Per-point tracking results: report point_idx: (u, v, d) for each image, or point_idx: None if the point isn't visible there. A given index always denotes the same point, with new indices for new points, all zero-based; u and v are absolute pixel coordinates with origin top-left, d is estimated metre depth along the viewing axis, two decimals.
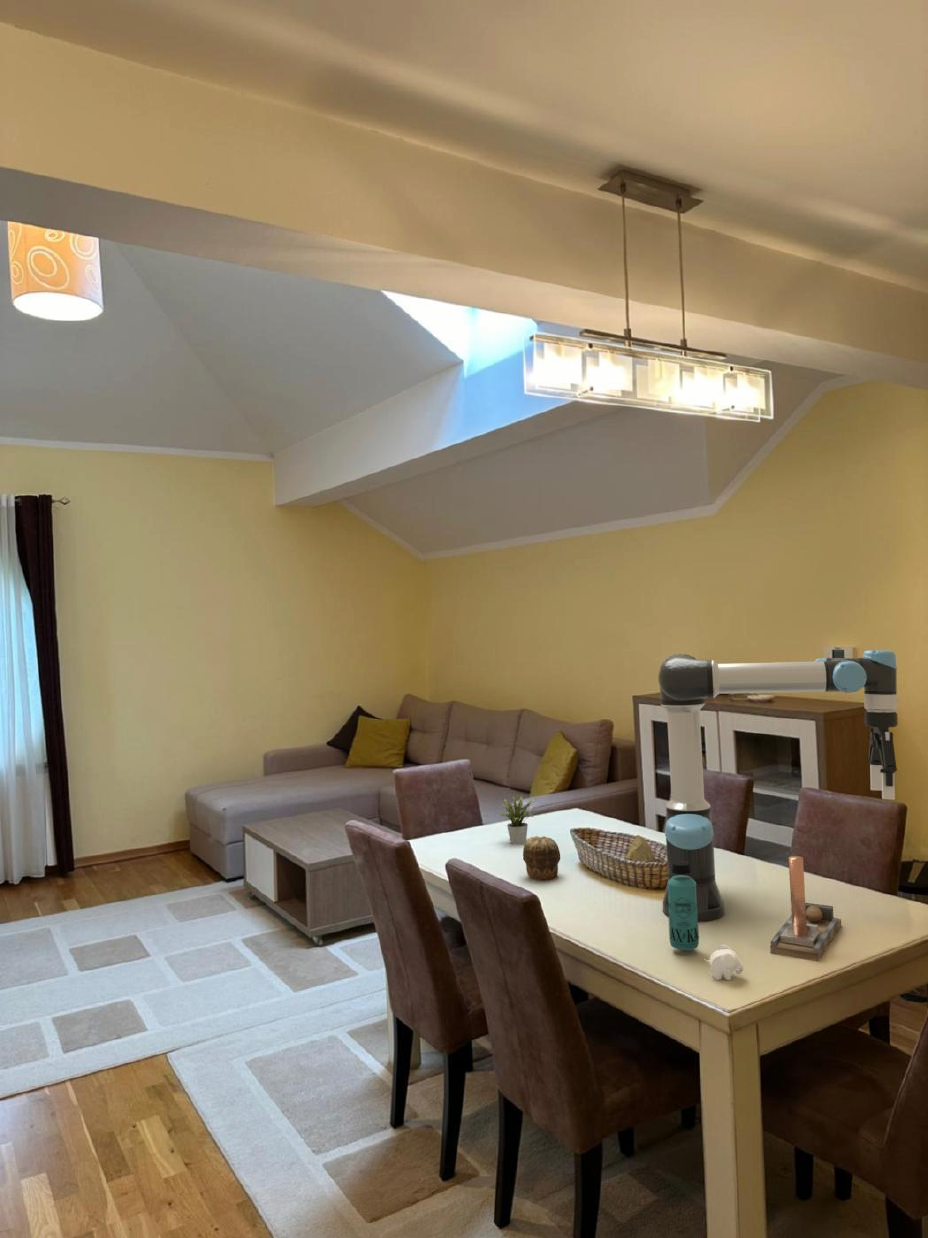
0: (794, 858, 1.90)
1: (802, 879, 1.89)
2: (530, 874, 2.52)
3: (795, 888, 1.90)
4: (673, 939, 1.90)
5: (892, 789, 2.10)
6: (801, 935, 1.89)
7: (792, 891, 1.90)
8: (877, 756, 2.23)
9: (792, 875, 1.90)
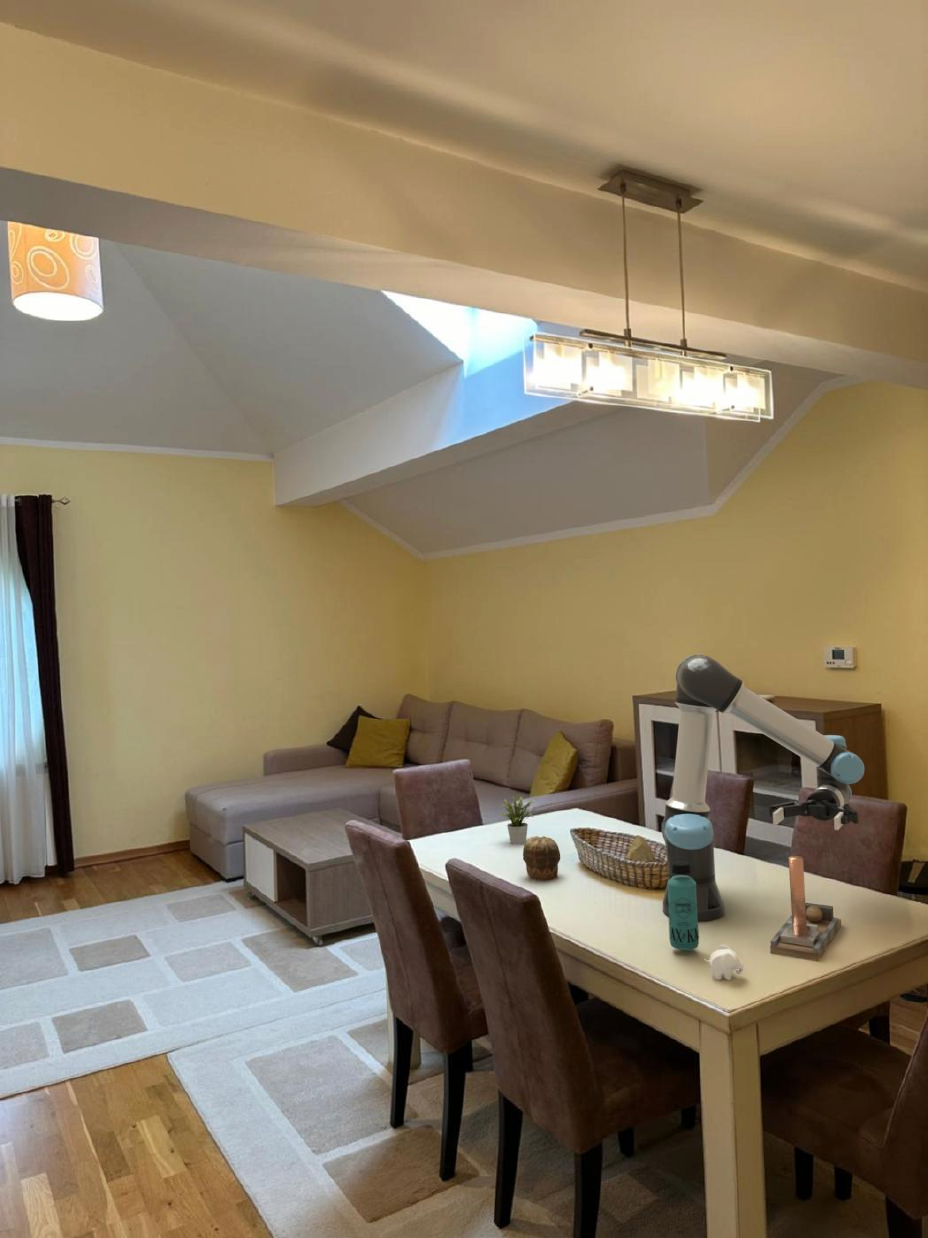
0: (794, 858, 1.90)
1: (802, 879, 1.89)
2: (530, 874, 2.52)
3: (795, 888, 1.90)
4: (673, 939, 1.90)
5: (840, 825, 1.97)
6: (801, 935, 1.89)
7: (792, 891, 1.90)
8: (789, 812, 2.09)
9: (792, 875, 1.90)
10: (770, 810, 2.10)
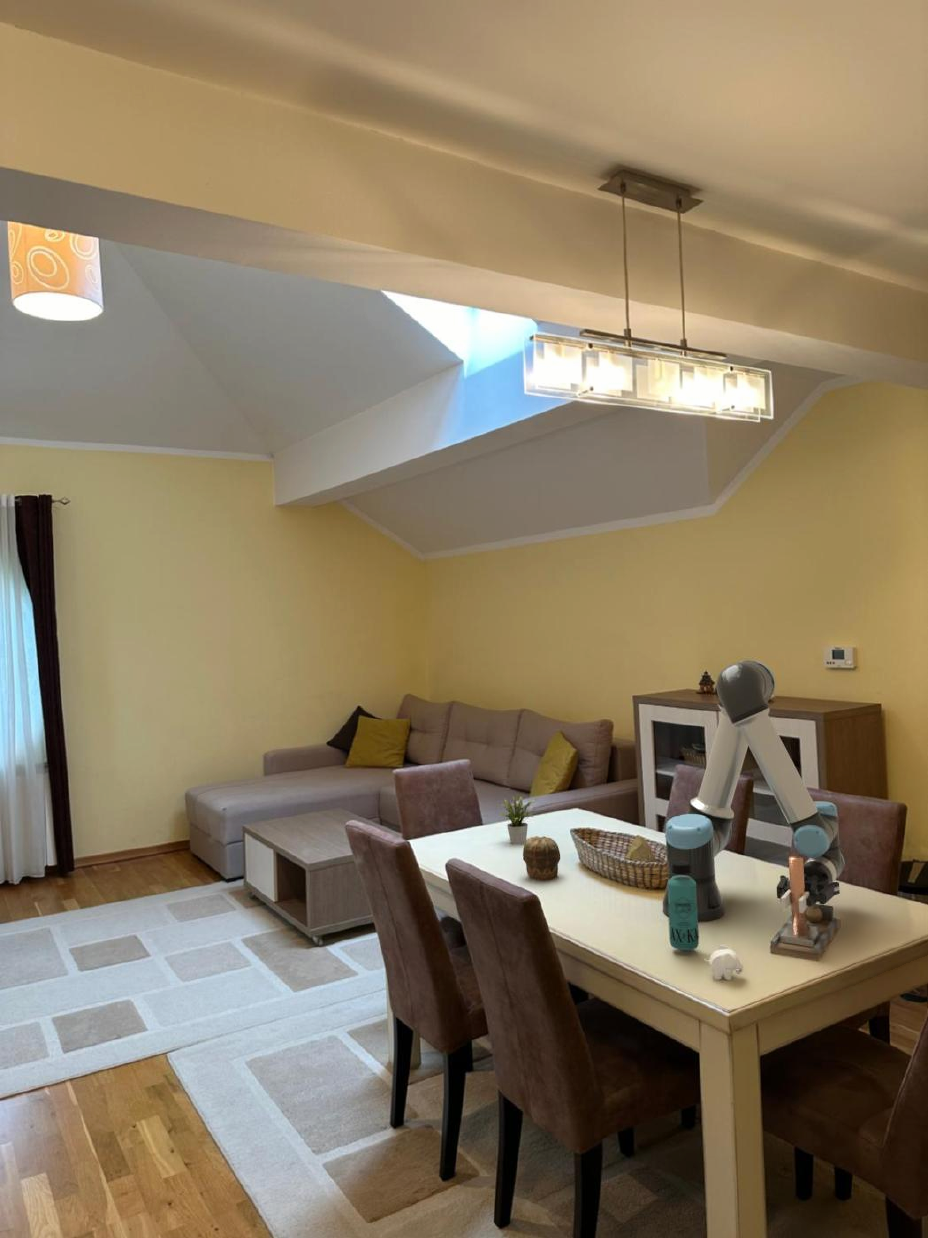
0: (794, 858, 1.90)
1: (802, 879, 1.89)
2: (530, 874, 2.52)
3: (795, 888, 1.90)
4: (673, 939, 1.90)
5: (805, 907, 1.87)
6: (801, 935, 1.89)
7: (792, 891, 1.90)
8: None
9: (792, 875, 1.90)
10: (778, 891, 1.95)
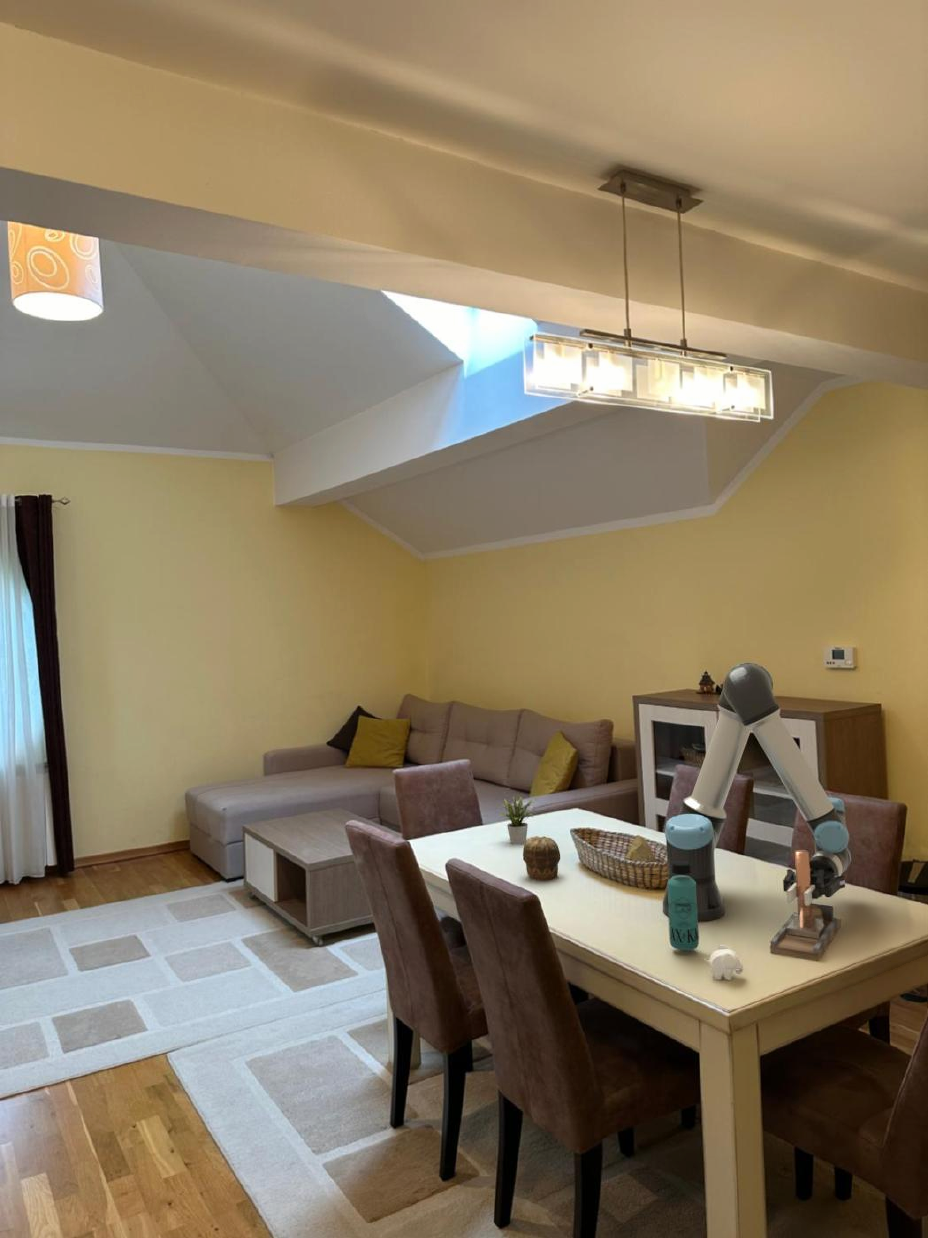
0: (800, 852, 1.95)
1: (808, 872, 1.94)
2: (530, 874, 2.52)
3: (801, 882, 1.94)
4: (673, 939, 1.90)
5: (811, 900, 1.91)
6: (807, 927, 1.94)
7: (798, 884, 1.95)
8: None
9: (798, 869, 1.94)
10: (784, 884, 1.99)
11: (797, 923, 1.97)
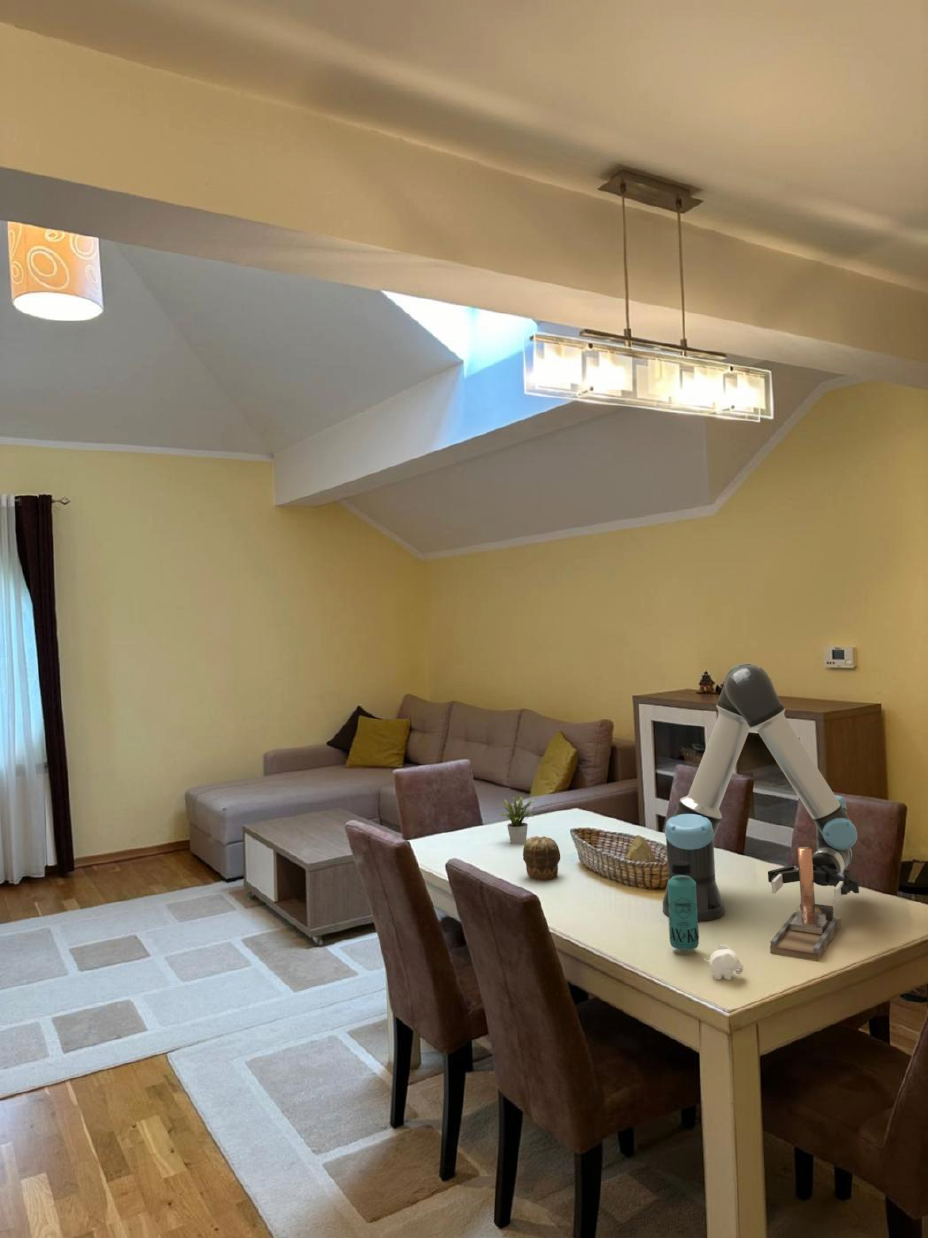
0: (803, 849, 1.97)
1: (811, 869, 1.96)
2: (530, 874, 2.52)
3: (804, 878, 1.96)
4: (673, 939, 1.90)
5: (840, 896, 1.93)
6: (810, 923, 1.96)
7: (801, 881, 1.97)
8: (789, 878, 2.06)
9: (801, 865, 1.97)
10: (769, 876, 2.07)
11: (800, 919, 1.99)
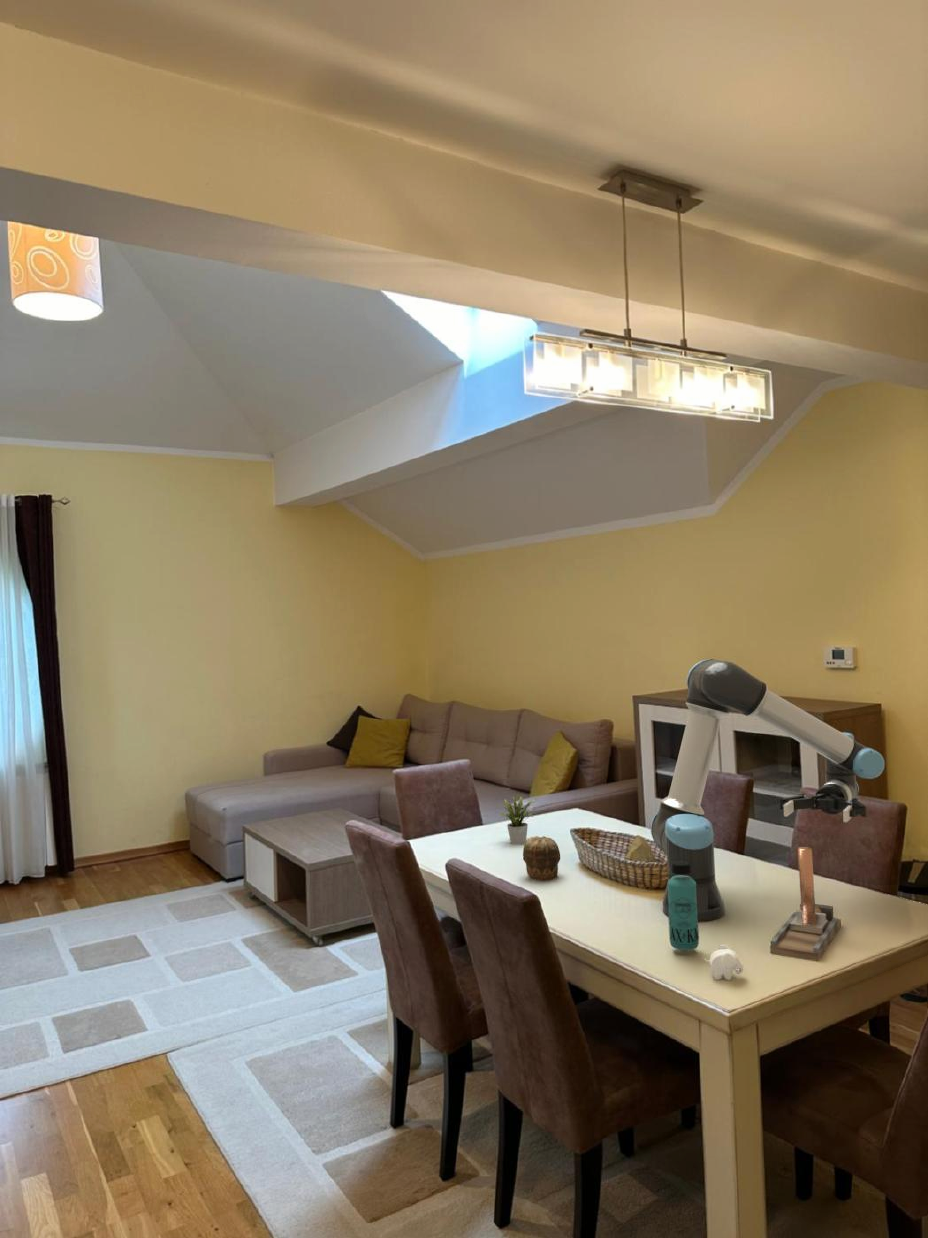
0: (803, 849, 1.97)
1: (811, 869, 1.96)
2: (530, 874, 2.52)
3: (804, 878, 1.96)
4: (673, 939, 1.90)
5: (848, 818, 2.04)
6: (810, 923, 1.96)
7: (801, 881, 1.97)
8: (799, 805, 2.16)
9: (801, 865, 1.97)
10: (780, 803, 2.17)
11: (800, 919, 1.99)
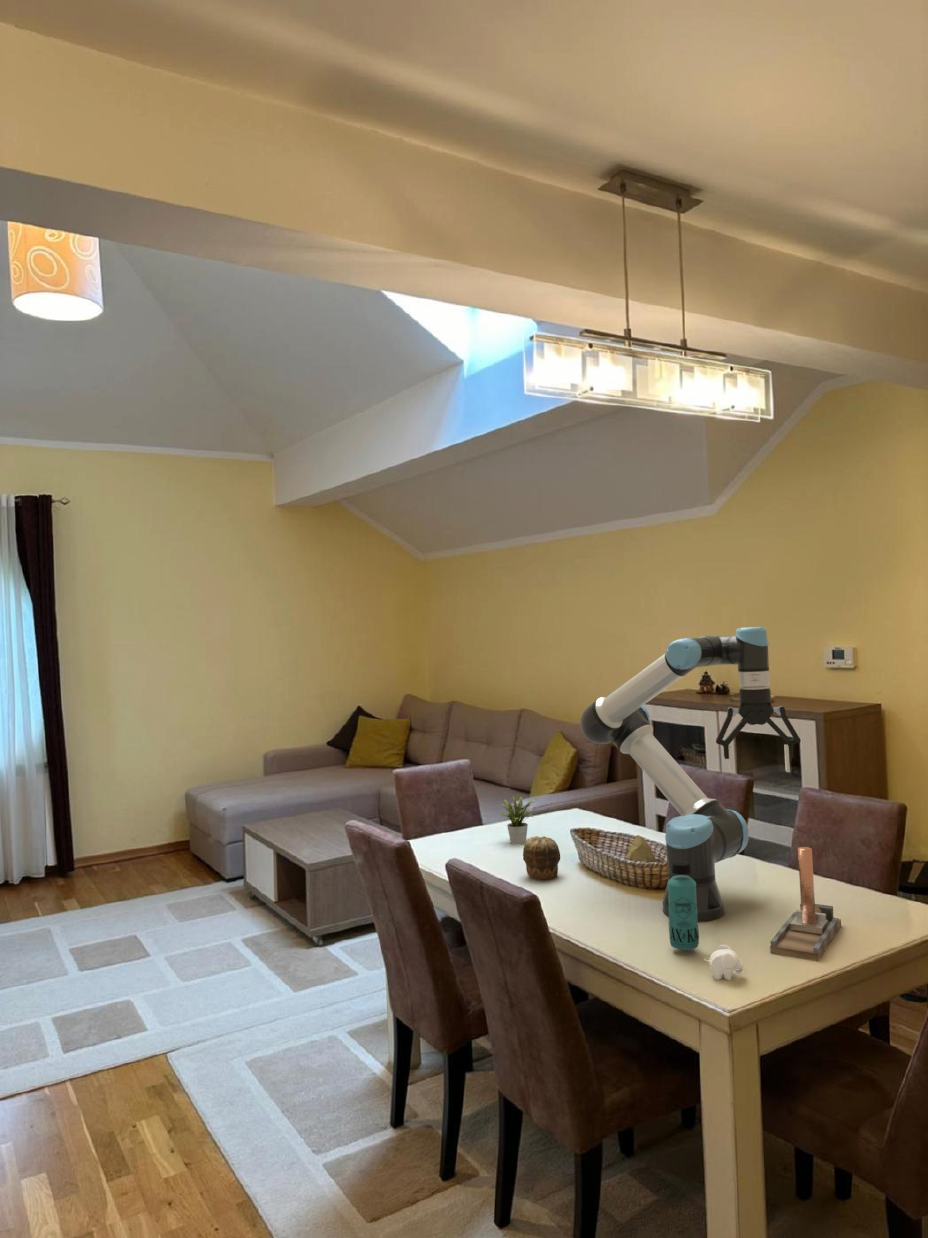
0: (803, 849, 1.97)
1: (811, 869, 1.96)
2: (530, 874, 2.52)
3: (804, 878, 1.96)
4: (673, 939, 1.90)
5: (729, 762, 2.18)
6: (810, 923, 1.96)
7: (801, 881, 1.97)
8: None
9: (801, 865, 1.97)
10: None
11: (800, 919, 1.99)
